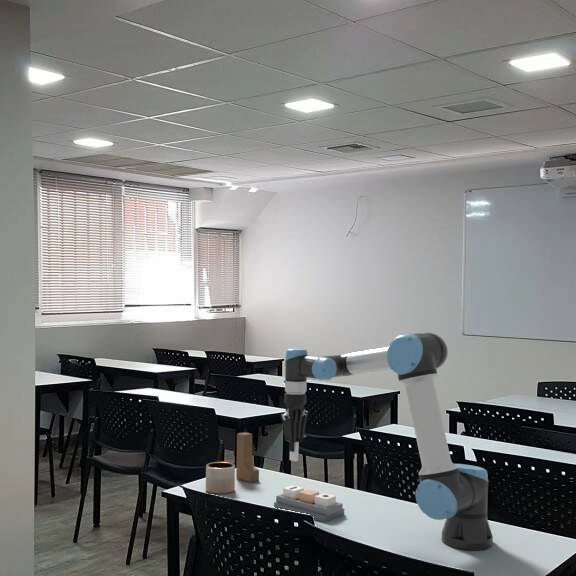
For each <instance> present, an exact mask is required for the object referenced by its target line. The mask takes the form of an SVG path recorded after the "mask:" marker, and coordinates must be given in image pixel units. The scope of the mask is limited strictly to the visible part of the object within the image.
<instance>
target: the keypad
mask: <svg viewBox="0 0 576 576" xmlns="http://www.w3.org/2000/svg"><path fill="white" fill-rule="evenodd" d="M275 497H276V498H275V501H274V502H273V508H274V507H275V508H280V509H285V510H291V511H295V512H300V513H306V514H310V515H312V516H313V517H314V519H313V520H315V521H319V522H322V523H327V522H330V521H331V520H334V519H336V518H340V517H341V516H344V515H345V508H343V506H344V505H343V503H341V502H337V501H336V505H334V506H331V507H328V508H325V507H322V506H318V505H315V502H314V503H311V504H310V503H306V502H302V501H299V498H298V499H291V498H287V497H283V493H282V494H278V495H276V496H275ZM275 508H274V509H275Z"/></svg>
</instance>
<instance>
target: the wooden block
mask: <svg viewBox="0 0 576 576" xmlns="http://www.w3.org/2000/svg"><path fill="white" fill-rule="evenodd" d="M235 472H236V473H235V475H236V476H235V477H236V479H238V480H241V481H245V482H247V483H255V482H256V483H257V482H260V481H259V480H260V470H259V469H258V468H256V467H255V466H254V463H253V433H251V432H250V433H249V432H245V431H244V432H238V433H236V469H235Z"/></svg>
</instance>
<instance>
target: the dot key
mask: <svg viewBox="0 0 576 576" xmlns="http://www.w3.org/2000/svg"><path fill="white" fill-rule="evenodd" d="M336 498H337V496H336V495H333V494H329V493H325V492H324V493H321V494H320V493H319V495H317V496H315V505H318V506H322V507H325V508H328V507H331V506H334V505H336V502H337V499H336Z"/></svg>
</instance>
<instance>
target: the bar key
mask: <svg viewBox="0 0 576 576" xmlns="http://www.w3.org/2000/svg"><path fill="white" fill-rule="evenodd" d="M282 491H283V493H282V494H283V497H287V498H291V499H298V498H299V492H301V491H304V488H303V487H301V486H296V485H289V486H286V487H283V488H282Z"/></svg>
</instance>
